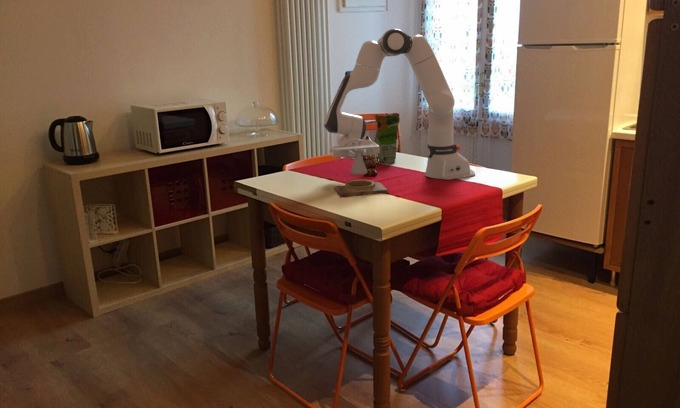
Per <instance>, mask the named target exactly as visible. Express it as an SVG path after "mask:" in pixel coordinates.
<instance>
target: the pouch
mask: <svg viewBox="0 0 680 408" xmlns="http://www.w3.org/2000/svg"><path fill="white" fill-rule="evenodd" d="M373 118H375V119H374V120H375V122H376V132H375V136H374V141H373V142H374V143H376V144H378V145H379V148H380V153H379V154H377V155H378V159H379V161H378V162H382V163H384V164H387V165H388V164H394V163H395V162H396V159H397V150H398V148H397V140H398V131H399V123H400V119H401V118H400V113H397V112H393V113H387V112H386V113H385V114H380V115H379V114H375V115H374V116H373Z"/></svg>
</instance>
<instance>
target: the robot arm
mask: <svg viewBox="0 0 680 408" xmlns="http://www.w3.org/2000/svg"><path fill="white" fill-rule="evenodd" d="M399 55H404V56H405V57H406V58H407V60H408V61H409V64H410V67H411V69H412V70H413V73H414V75H415V77H416V80H417V81H418V84H419V86H420V89H421V92H422V94H423V97H424V99H425V101H426V103H427V105H428V106H427V107H428V117H427V118H428V121H427V122H428V124H427V126H428V129H427V130H428V132H427V133H428V135H427V136H428V139H427V141H428V143H427V147H426V148H427V149H426V155H427V162H426V163H427V164H426V169H425V173H424V176H425V177H427V178H431V179H440V180H445V181H447V180H455V179H461V178H468V177H473V176H475V175H476V172H475V171H474V170H473V169H471V165H470V162H469V160H468V159H467V158H465V157H464V156H463V155H462V154H460V153H459V152H458V151H461V149H462V146H461V145H457V144H454V106H455V98H454V95H453V92H452V90H451V89H450V86H449V84H448V82H447V79H446V78H445V75H444V72H443V71H442V68H441V66H440V63H439V62H438V59H437V57H436V54H435V52H434V50H433V48H432V46H431V45H430V43H429V41H428V40H427V39H426V38H425V36H424V35H422V34H416V35H413V36H410V35H409V34H408V33H406V32H405V31H403V30H402V29H400V28H391V29H388V30H387V31H385V32H384V33H383V35H381V37H380V38H379V39H378V40H377V41H375V40H367V41H366V40H365V41H364V42H363V43H362V45H361V48H360V49H359V52H358V55H357V58H356V62H355V65H354V67H353V69H352V70H351V72H350V73H348V74H345V76H343V79H342V81H341V82H340V85H339V87H338V89H337V91H336V93H335V95H334V98H333V101H332V103H331V105H330V107H329V109H328V111H327V112H326V115H325V116H324V120H323V126H324V128H325V129H326V131H327V132H328V133H331V134H339V136H338V137H337V139H336V145H335V146H332V148H331V149H329V152H330V153H331V155H332V158H334V159H335V158H336V159H337V158H348V159H350V160H353V159H354V160H355V157H356V152H355V149H362V157H366V156H373V155H374V156H376V154H379V153H380V148H379V145H378V144H376V143H375V142H374V141H372V139H368V138H366V139H365V138H364V137H365V135H366V130H367V123H366V120H365V119H364V117H363V116H361V115H358V114H354V113H349V112H345V111H342V110H341V109H342V107H343V104H344V102H345V100H346V98H347V96H348V94H349V93H350V92H351V91H354V90H359V89H366V88H368V87H370V86H373V85H374V84H375V83H376V82H377V80H378V78H379V75H380V72H381V69H382V67H381V66H382V65H383V61H384V60H385V58H386V57H397V56H399Z"/></svg>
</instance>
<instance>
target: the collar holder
mask: <svg viewBox="0 0 680 408" xmlns="http://www.w3.org/2000/svg"><path fill="white" fill-rule="evenodd" d="M333 190H334V192H335V193H336V194H337V195H338V197H339V198H340V199H342V198H350V197H352V198H353V197H361V196H372V195H382V194H388V189H387V188H386V187H385V185H383V184H382V183H381V182H378V181H375V182H374V181H373V180H369V179H353V180H349V181H346V183H345V184H343V185H334V186H333Z"/></svg>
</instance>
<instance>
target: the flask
mask: <svg viewBox="0 0 680 408" xmlns="http://www.w3.org/2000/svg"><path fill="white" fill-rule="evenodd" d="M355 152H356V157H355V158H354V161H353V163H352V167H351V169H350V174H351V175H355V176H356V175H359V176H360V175H366V174H367V173H368V169H367V167H366V165H365V161H364V158H363V156H362V149H355Z"/></svg>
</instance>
